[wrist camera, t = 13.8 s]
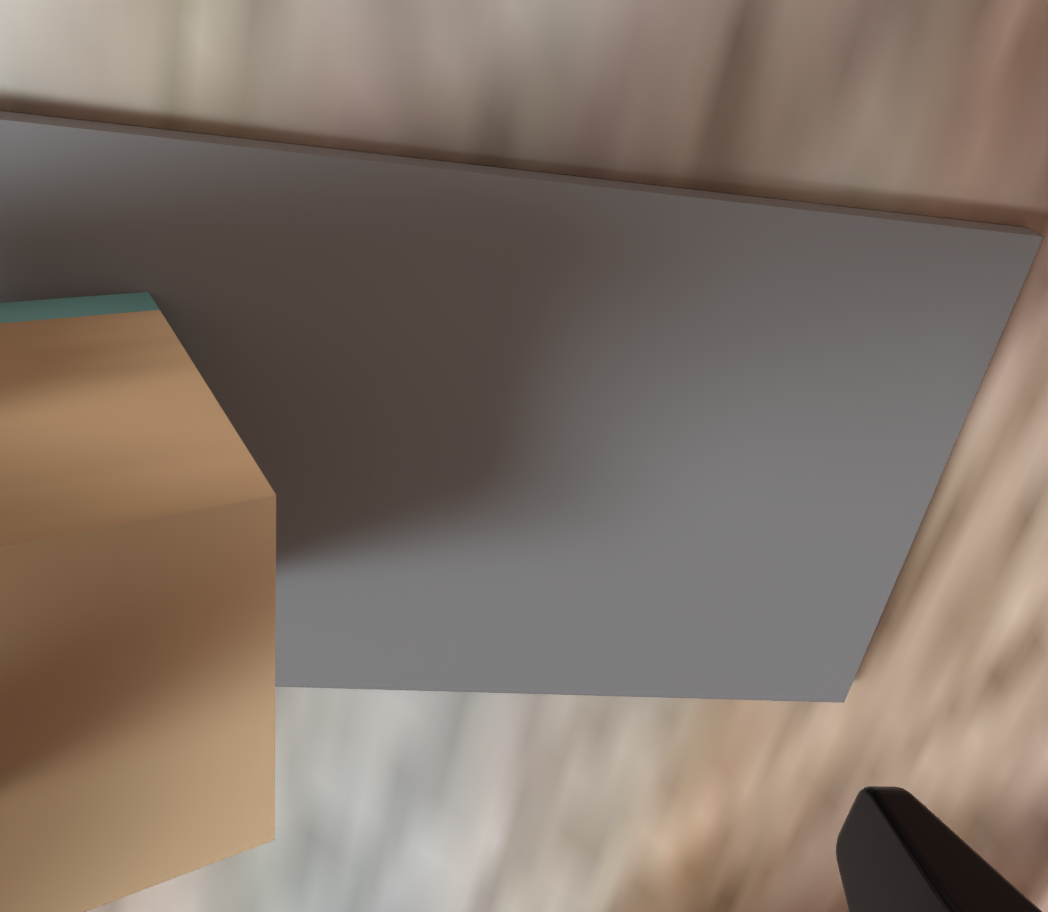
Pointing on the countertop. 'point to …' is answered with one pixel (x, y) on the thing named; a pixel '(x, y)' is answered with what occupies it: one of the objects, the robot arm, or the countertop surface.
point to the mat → (540, 399)
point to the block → (126, 610)
